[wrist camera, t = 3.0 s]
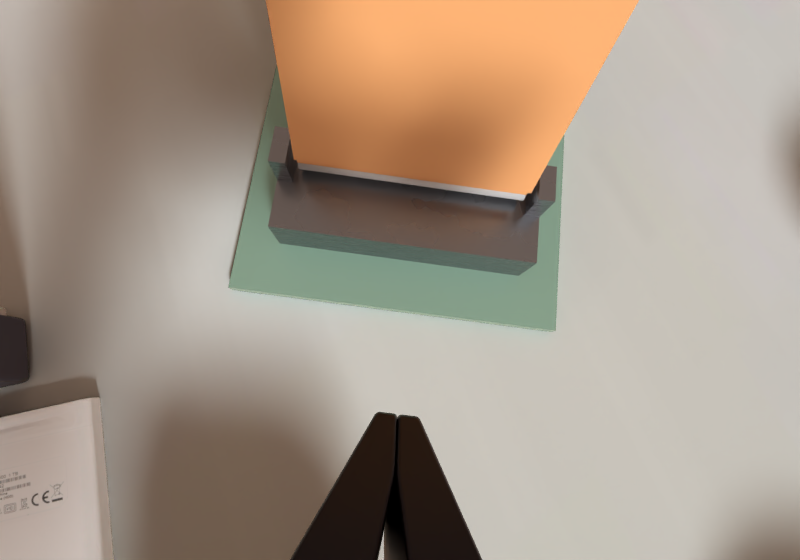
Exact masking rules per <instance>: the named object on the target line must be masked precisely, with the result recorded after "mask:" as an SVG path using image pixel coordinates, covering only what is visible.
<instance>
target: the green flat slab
mask: <svg viewBox="0 0 800 560" xmlns="http://www.w3.org/2000/svg"><path fill="white" fill-rule="evenodd" d="M275 126H278V127H285V128H288V123H287V118H286V112H285V106H284V101H283V95H282V89H281V84H280V78H279V72H278V67H277V66H276V70H275V75H274V79H273V84H272V89H271V93H270V98H269V102H268V107H267V112H266V116H265V121H264V125H263V130H262V135H261V139H260V144H259V148H258V153H257V158H256V162H255V167H254V171H253V176H252V181H251V185H250V190H249V194H248V199H247V204H246V208H245V213H244V218H243V222H242V227H241V231H240V236H239V241H238V245H237V250H236V254H235V259H234V264H233V268H232V273H231V277H230V282H229V288H230V289H232V290H238V291H246V292H253V293H261V294H269V295H276V296H284V297H291V298H299V299H306V300H314V301H321V302H329V303H337V304H344V305H352V306H359V307H367V308H374V309H382V310H390V311H397V312H405V313H412V314H420V315H427V316H435V317H442V318H450V319H458V320H465V321H473V322H480V323H488V324H495V325H503V326H511V327H518V328H526V329H533V330H541V331H548V332H552V331H556V310H557V287H558V264H559V241H560V218H561V196H562V173H563V150H564V135H563V137H562V139H561V141H560V143H559V144H558V146H557V148H556V150H555V151H554V153H553V155H552V157H551V159H550V160H549V162H548V164H547V165H548V166H555V167H557V178H556V200H555V203H553V204H552V205H551V206H550V207H549V208H548V209H547V210H546V211H545V212H544V213H543V214H542V215H541V216H540V217H539V234H538V252H537V263H536V264H535V265H534V266H532V267H531V268H529V269H528V270H526V271H525V272H524V273H522V274H521V275H519V276H516V275H508V274H501V273H494V272H486V271H479V270H471V269H464V268H457V267H449V266H442V265H435V264H427V263H420V262H413V261H405V260H398V259H391V258H383V257H376V256H368V255H361V254H354V253H346V252H339V251H332V250H324V249H317V248H310V247H302V246H295V245H288V244H280V243H279V242H278V240H277V239H276V237H275V236H274V235H273V233H272V232H271V230H270V229H269V227H268V223H269V218H270V213H271V208H272V203H273V198H274V193H275V188H276V184H277V179H276V177H275V175H274V173H273V171H272V169H271V167H270V165H269V162H268V157H269V153H270V148H271V143H272V138H273V134H274V129H275Z"/></svg>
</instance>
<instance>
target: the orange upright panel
mask: <svg viewBox="0 0 800 560" xmlns="http://www.w3.org/2000/svg"><path fill="white" fill-rule="evenodd" d="M638 1H639V0H266V5H267V10H268V16H269V22H270V27H271V33H272V38H273V44H274V50H275V55H276V61H277V67H278V72H279V78H280V84H281V89H282V95H283V101H284V106H285V112H286V118H287V123H288V129H289V134H290V140H291V146H292V151H293V157H294V160H297V163H298V168H299V169H302V170H309V171H317V172H324V173H331V174H338V175H345V176H352V177H359V178H366V179H373V180H380V181H387V182H394V183H401V184H408V185H416V186H423V187H430V188H437V189H444V190H451V191H458V192H465V193H472V194H479V195H486V196H493V197H500V198H507V199H515V200H522V201H523V200H524V198H525V196H526V195H527V193H532V191H533V189H534V187H535V186H536V184H537V182H538V180H539V178H540V177H541V175H542V173H543V171H544V169H545V168H546V166H547V164H548V162H549V160H550V159H551V157H552V155H553V153H554V151H555V150H556V148H557V146H558V144H559V143H560V141H561V139H562V137H563V135H564V134H565V132H566V130H567V128H568V126H569V125H570V123H571V121H572V119H573V117H574V116H575V114H576V112H577V110H578V108H579V107H580V105H581V103H582V101H583V99H584V98H585V96H586V94H587V92H588V91H589V89H590V87H591V85H592V83H593V82H594V80H595V78H596V76H597V74H598V73H599V71H600V69H601V67H602V65H603V64H604V62H605V60H606V58H607V56H608V55H609V53H610V51H611V49H612V47H613V46H614V44H615V42H616V40H617V38H618V37H619V35H620V33H621V31H622V30H623V28H624V26H625V24H626V22H627V21H628V19H629V17H630V15H631V13H632V12H633V10H634V8H635V6H636V4H637V3H638Z"/></svg>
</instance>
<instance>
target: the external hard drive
mask: <svg viewBox="0 0 800 560" xmlns="http://www.w3.org/2000/svg"><path fill="white" fill-rule="evenodd" d="M0 560H114V556H113V543H112V531H111V520H110V507H109V495H108V483H107V472H106V460H105V448H104V436H103V425H102V412H101V401H100V397H96V398H85V399H80V400H75V401H71V402H66V403H62V404H58V405H53V406H49V407H44V408H40V409H35V410H31V411H26V412H22V413H18V414H13V415H8V416H4V417H0Z"/></svg>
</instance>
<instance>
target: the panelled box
mask: <svg viewBox="0 0 800 560" xmlns="http://www.w3.org/2000/svg"><path fill="white" fill-rule="evenodd" d="M28 378H29V375H28V357H27V342H26V328H25V321H24V320H23V319H21V318H16V317H11V316H6V309H5V308H2V307H0V388H1V387H6V386H10V385H14V384H19V383H23V382H25V381H27V380H28Z"/></svg>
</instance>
